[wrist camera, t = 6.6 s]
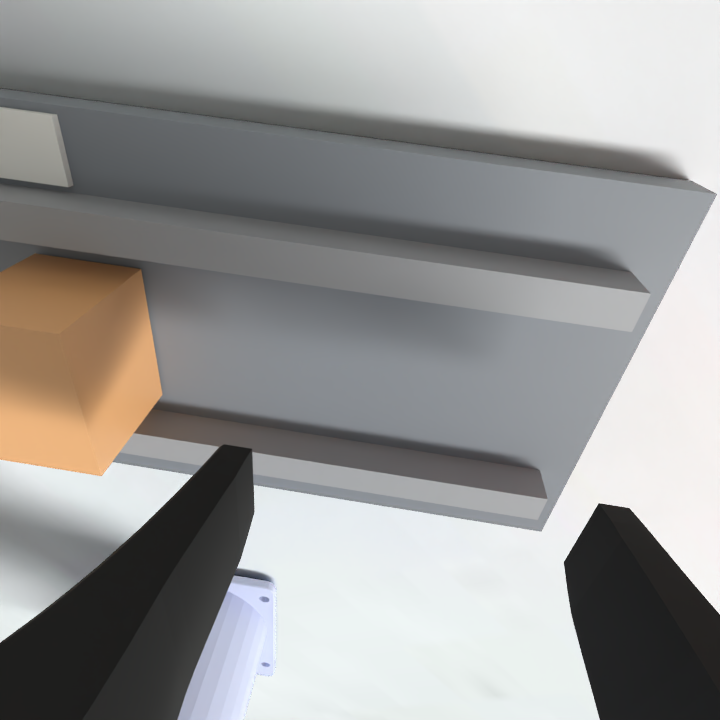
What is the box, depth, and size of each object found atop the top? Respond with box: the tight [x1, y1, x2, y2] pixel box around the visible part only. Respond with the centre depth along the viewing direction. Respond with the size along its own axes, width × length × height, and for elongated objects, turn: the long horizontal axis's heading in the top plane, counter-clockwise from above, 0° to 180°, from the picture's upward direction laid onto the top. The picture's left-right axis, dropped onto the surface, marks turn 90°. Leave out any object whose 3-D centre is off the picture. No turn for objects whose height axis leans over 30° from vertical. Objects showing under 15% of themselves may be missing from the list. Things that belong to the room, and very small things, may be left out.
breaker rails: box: [0, 88, 717, 531], centre depth 14 cm, size 12×24×2 cm, turn 84°
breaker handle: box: [0, 253, 163, 476], centre depth 13 cm, size 4×3×4 cm
